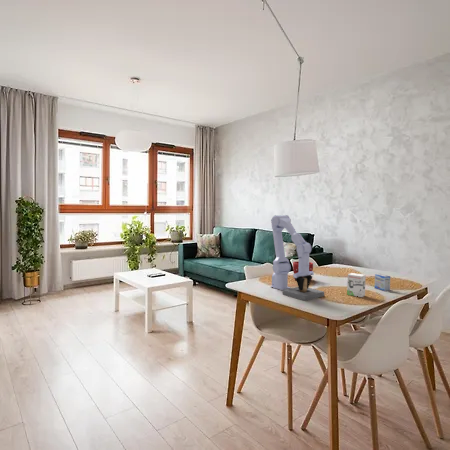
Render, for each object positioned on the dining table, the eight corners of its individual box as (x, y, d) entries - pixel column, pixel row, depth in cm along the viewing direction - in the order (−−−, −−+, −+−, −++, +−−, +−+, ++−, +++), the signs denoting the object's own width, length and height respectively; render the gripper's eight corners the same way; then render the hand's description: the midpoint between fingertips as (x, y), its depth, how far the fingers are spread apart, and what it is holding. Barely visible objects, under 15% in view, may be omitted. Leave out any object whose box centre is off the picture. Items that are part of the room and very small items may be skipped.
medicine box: (374, 288, 209) (374, 274, 209) (379, 287, 211) (380, 273, 210) (384, 291, 202) (384, 276, 202) (390, 290, 204) (390, 275, 203)
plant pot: (314, 282, 225) (315, 264, 224) (294, 282, 225) (294, 263, 225) (310, 278, 238) (310, 260, 238) (291, 277, 238) (291, 260, 238)
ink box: (346, 294, 194) (347, 273, 193) (350, 293, 197) (350, 272, 197) (362, 297, 188) (362, 276, 187) (365, 295, 192) (365, 274, 191)
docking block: (282, 294, 194) (282, 290, 194) (302, 290, 204) (302, 286, 203) (304, 300, 181) (304, 296, 181) (324, 296, 191) (324, 291, 190)
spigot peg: (298, 292, 193) (298, 278, 193) (303, 291, 195) (303, 277, 195) (303, 294, 190) (303, 279, 189) (308, 293, 192) (308, 278, 191)
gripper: (300, 267, 184) (300, 292, 185) (318, 264, 192) (317, 288, 193) (290, 265, 190) (290, 289, 190) (308, 262, 198) (307, 286, 199)
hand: (303, 289), depth 192 cm, fingers closed on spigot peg, 4 cm apart
